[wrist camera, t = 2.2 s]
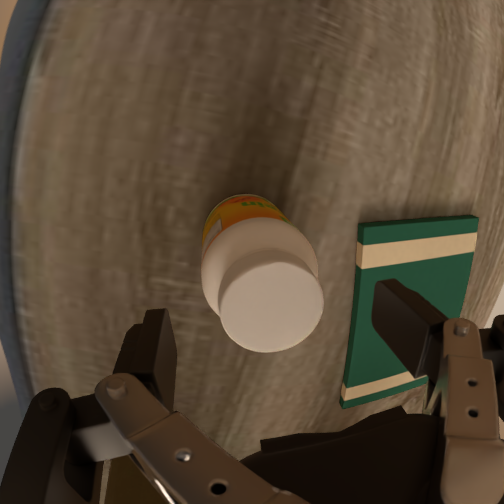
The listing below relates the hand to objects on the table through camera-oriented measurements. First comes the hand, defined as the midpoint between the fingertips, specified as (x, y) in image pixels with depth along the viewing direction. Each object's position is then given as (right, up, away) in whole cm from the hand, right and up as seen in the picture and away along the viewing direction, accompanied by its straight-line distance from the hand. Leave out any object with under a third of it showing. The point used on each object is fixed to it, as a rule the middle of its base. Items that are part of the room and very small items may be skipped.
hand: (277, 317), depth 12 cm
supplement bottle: (-1, +4, +9) cm, 10 cm away
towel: (+13, -3, +14) cm, 19 cm away
